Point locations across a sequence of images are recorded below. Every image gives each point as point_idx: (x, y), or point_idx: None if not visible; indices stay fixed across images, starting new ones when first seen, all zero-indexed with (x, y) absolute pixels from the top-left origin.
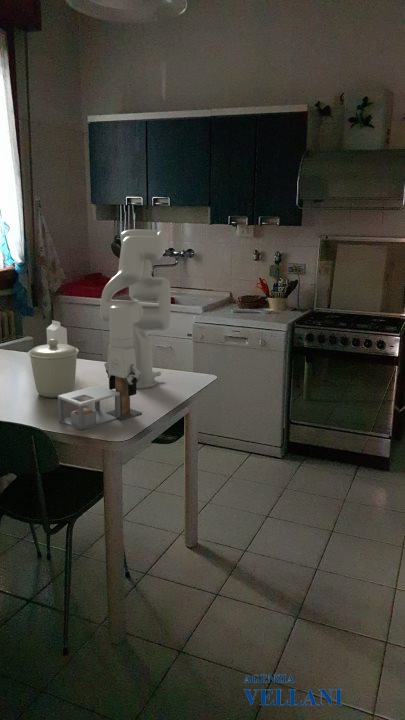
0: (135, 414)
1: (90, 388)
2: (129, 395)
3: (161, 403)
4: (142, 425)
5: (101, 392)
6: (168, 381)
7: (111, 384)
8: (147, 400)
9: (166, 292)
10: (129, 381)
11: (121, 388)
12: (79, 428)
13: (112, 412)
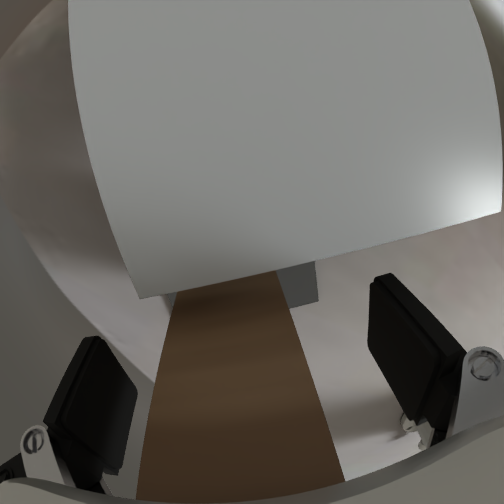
0: (171, 295)
1: (472, 96)
2: (85, 338)
3: None
4: (44, 256)
5: (276, 87)
6: (394, 444)
7: (395, 320)
8: (325, 393)
9: None
10: (40, 456)
11: (166, 356)
12: None
13: None
